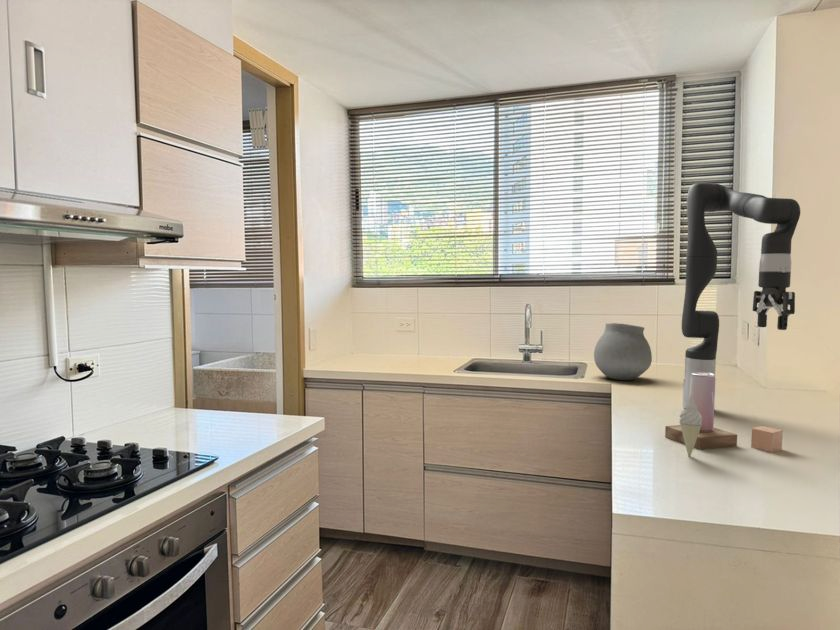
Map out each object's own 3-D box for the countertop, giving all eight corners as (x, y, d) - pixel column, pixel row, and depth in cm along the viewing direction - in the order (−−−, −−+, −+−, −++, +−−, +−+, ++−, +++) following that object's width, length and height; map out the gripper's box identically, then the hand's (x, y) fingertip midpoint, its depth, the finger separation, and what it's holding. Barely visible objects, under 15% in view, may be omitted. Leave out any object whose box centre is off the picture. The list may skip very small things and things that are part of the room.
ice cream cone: (674, 456, 134) (676, 394, 133) (682, 451, 138) (685, 391, 137) (696, 460, 130) (699, 397, 130) (704, 456, 134) (706, 394, 133)
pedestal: (665, 436, 151) (665, 426, 151) (700, 434, 155) (700, 423, 155) (699, 449, 140) (700, 437, 140) (736, 446, 144) (737, 434, 143)
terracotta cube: (751, 447, 143) (751, 428, 143) (760, 444, 146) (761, 425, 145) (771, 452, 139) (772, 432, 138) (781, 449, 141) (782, 430, 141)
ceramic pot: (657, 384, 235) (659, 325, 234) (597, 382, 239) (599, 324, 238) (643, 376, 259) (645, 322, 258) (589, 373, 263) (591, 321, 262)
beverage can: (691, 426, 152) (693, 371, 151) (715, 429, 148) (718, 373, 147) (685, 430, 147) (687, 373, 146) (710, 434, 143) (712, 376, 143)
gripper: (745, 270, 162) (743, 326, 163) (778, 269, 148) (775, 330, 149) (771, 271, 163) (768, 326, 164) (806, 270, 148) (802, 330, 149)
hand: (771, 328), depth 156 cm, fingers open, 8 cm apart
